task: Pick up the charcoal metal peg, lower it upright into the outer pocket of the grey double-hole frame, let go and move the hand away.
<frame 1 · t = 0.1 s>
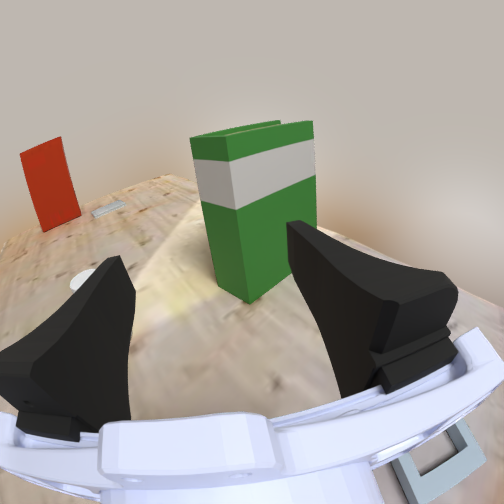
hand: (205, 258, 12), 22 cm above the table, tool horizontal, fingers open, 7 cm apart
grey double-hole frame: (412, 420, 21), on the table
pill bottle: (116, 339, 37), on the table
hardback book: (270, 269, 49), on the table
file binder: (62, 222, 91), on the table
hard drive: (108, 211, 92), on the table
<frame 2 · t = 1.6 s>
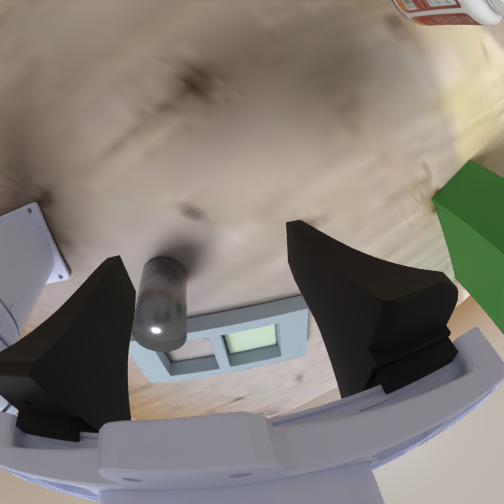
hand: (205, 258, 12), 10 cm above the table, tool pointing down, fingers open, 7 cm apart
grey double-hole frame: (218, 339, 30), on the table
hardback book: (463, 226, 29), on the table
peg: (164, 275, 24), on the table
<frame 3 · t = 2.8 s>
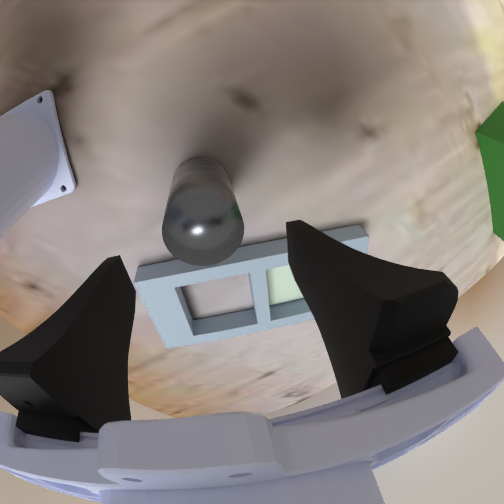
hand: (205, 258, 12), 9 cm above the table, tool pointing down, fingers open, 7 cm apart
grey double-hole frame: (256, 284, 25), on the table
hardback book: (500, 172, 24), on the table
peg: (200, 184, 19), on the table
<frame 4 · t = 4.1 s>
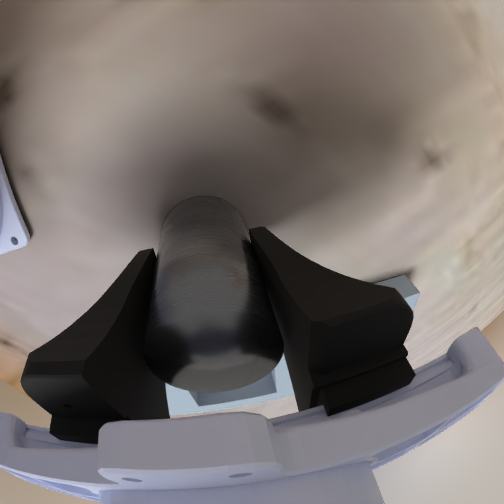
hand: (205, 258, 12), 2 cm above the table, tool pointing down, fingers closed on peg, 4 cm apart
grey double-hole frame: (276, 348, 19), on the table
peg: (203, 235, 13), on the table, touching gripper
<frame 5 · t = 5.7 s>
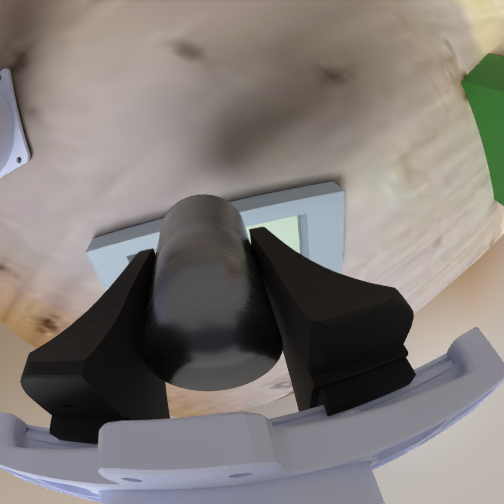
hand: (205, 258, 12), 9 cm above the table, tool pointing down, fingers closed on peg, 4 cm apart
grey double-hole frame: (221, 253, 22), on the table
hardback book: (496, 131, 20), on the table
peg: (202, 234, 13), point 7 cm above the table, touching gripper
when the fingers open (3 cm above the table, at t = 7.6 s): peg drops 1 cm, resting on grey double-hole frame.
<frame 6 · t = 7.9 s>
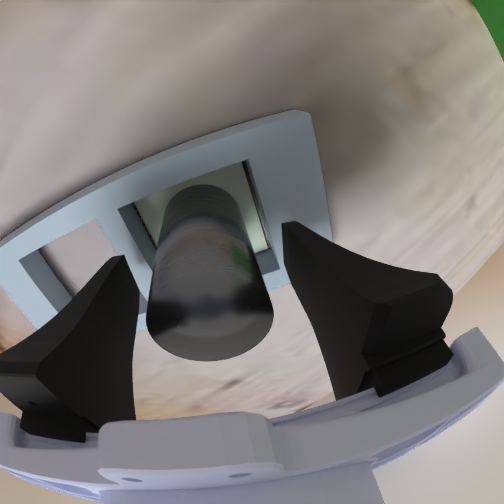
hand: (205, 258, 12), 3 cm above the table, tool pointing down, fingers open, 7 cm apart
grey double-hole frame: (141, 244, 14), on the table
peg: (202, 221, 14), resting on grey double-hole frame
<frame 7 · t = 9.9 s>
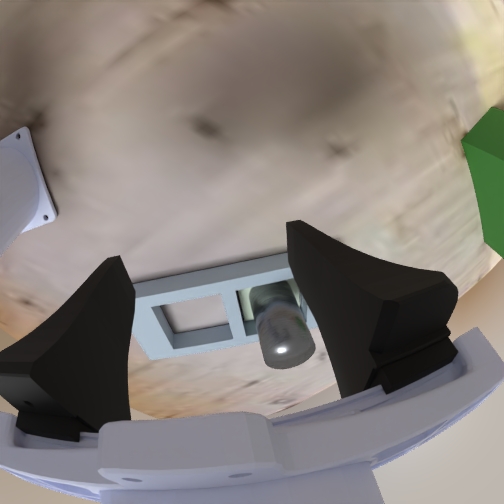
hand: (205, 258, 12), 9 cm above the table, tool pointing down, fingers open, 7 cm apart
grey double-hole frame: (231, 301, 26), on the table
hardback book: (491, 180, 24), on the table
peg: (270, 294, 26), resting on grey double-hole frame
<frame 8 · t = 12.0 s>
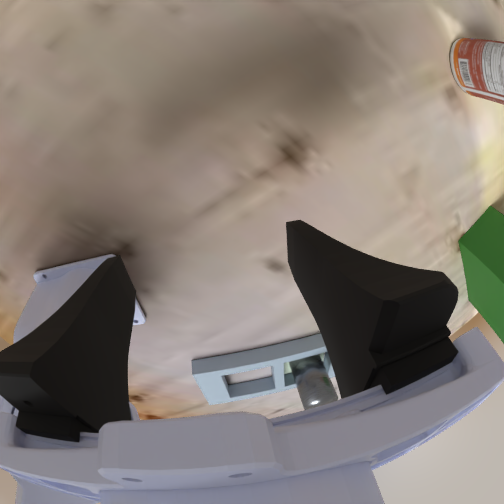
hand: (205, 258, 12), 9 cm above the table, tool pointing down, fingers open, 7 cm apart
grey double-hole frame: (275, 364, 33), on the table
pill bottle: (464, 65, 16), on the table
hardback book: (479, 258, 32), on the table
peg: (303, 358, 33), resting on grey double-hole frame
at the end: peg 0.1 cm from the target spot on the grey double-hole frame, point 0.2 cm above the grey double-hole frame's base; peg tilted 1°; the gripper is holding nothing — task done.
